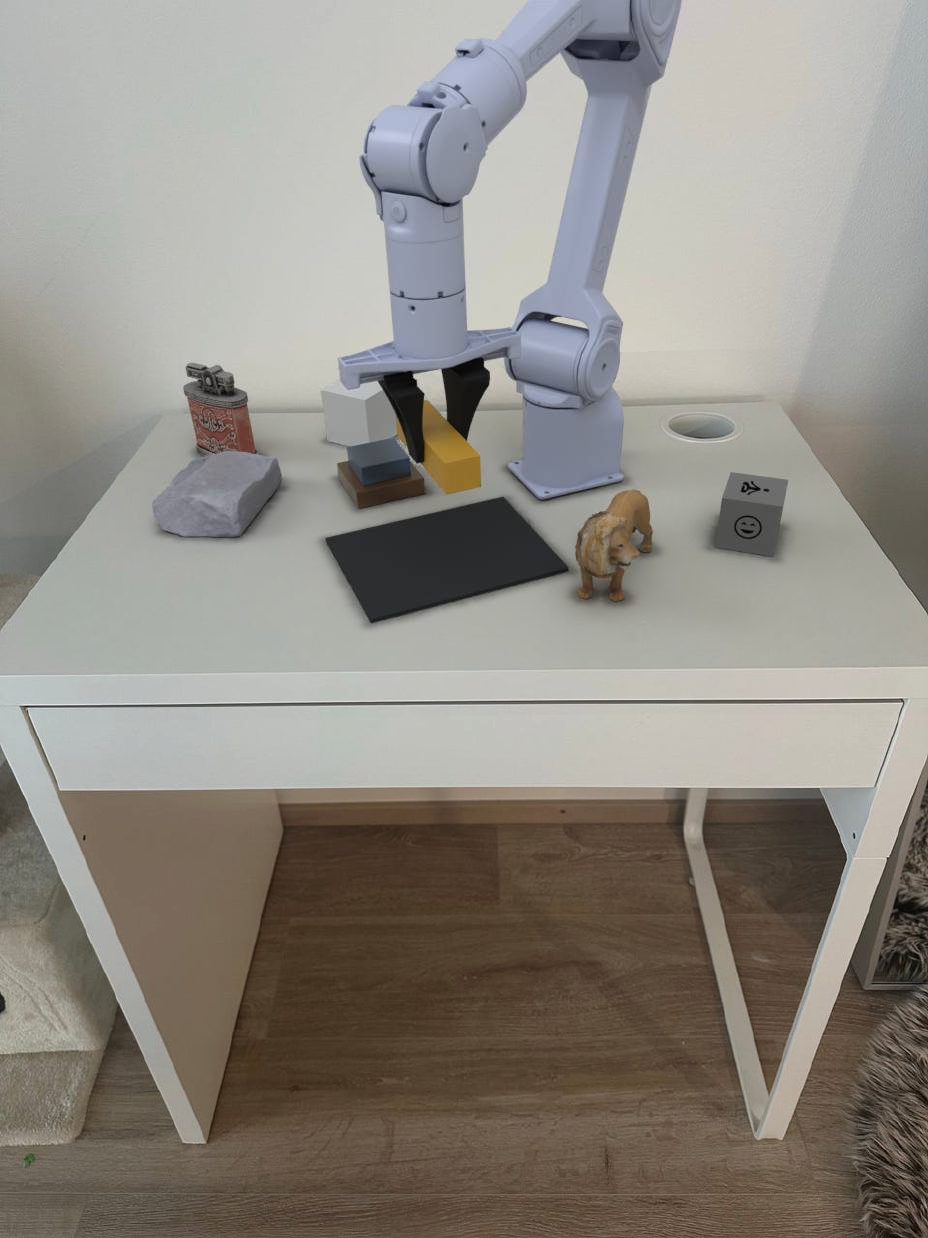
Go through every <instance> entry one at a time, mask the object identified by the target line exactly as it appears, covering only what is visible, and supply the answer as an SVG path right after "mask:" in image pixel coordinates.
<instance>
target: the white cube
mask: <svg viewBox="0 0 928 1238" xmlns="http://www.w3.org/2000/svg"><path fill="white" fill-rule="evenodd" d="M320 396H321V402H322V404H321V405H322V410H323V411H322V412H323V419H324V427H325V433H326V441H327V442H331V443H333V444H337V445H340V446H345V447H350V446H355V445H360V444H365V443H370V442H375V441H379V440H384V439H389V438H395V437H396V436H397V426H396V414H395V411H394V409H393V407H392V405H391V404H390V402H389V400H388V398H387V396H386V394H385V393H384V391H383V389H382V388H381V386H380V384H379V383H378V381H375V382H369V383H364V384H360V387H359V388H356V389H351V390H347V389H346V387H344V385H343V384H342V382H341V381H340V378H339V379H337V380H336V381H334V382H332V383H330V384H328V385H327V386H324V387H323V388H321V389H320Z"/></svg>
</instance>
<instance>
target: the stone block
mask: <svg viewBox="0 0 928 1238" xmlns="http://www.w3.org/2000/svg"><path fill="white" fill-rule="evenodd" d="M281 481H282V471H281V467H280V464H279V460H278V458H277V457H276V456H272V457H271V456H268V455H263V454H259V453H258V454H251V453H247V452H237V451H233V452H232V451H225V452H221V453H218V454H209V455H207V456H205V457H204V456H199V457H198V458H196V459H193V460H190V462H188V465H187V466H186V467H184V468H182V469H181V470H179V472H178V473H177V474H176V475H175V476H174V477H173V478H172V480H171V482H170V483H169V484H168V487H166V488H165V489H163V491H162V492H161V493H160V494H159V495H158V496H156V497H155V498H154V499H153V501H152V502H151V503H152V505H151V506H152V507H151V508H152V513H153V518H154V519H155V520H156V521H157V523H158V526H160V528H161V530H163V531H165V532H169V533H172V534H175V535H179V536H181V537H189V538H190V537H212V538H224V537H225V538H226V537H227V538H236V537H239V536H241V535H242V534H243V533H244V532H245V530H246V529H247V528H248V527H249V525H250V524H251V523H252V522H253V521H254V519H255V518H256V517H257V515H258V514H259V512H260V511H261V510H262V509H263V508H264V507H265V505H266V504H267V502H268V500H269V499H270V498H271V497H272V496H273V495H274V494H275V493H276V491H277V489H278V487H279V486H280V484H281Z"/></svg>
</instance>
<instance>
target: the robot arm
mask: <svg viewBox="0 0 928 1238" xmlns="http://www.w3.org/2000/svg"><path fill="white" fill-rule="evenodd" d="M682 2H683V0H528V1H526V3H525V4H524V5H523V6H522V8H521V9H520V10H519V11H518V12H517V13H516V14H515V16H514V17H513V18H512V20H511V21H510V22H509V23H508V24H507V25H506V27H505V28H504V29H503V30H502V31H501V33H499V35H498V36H497V38H495V39H492V38H487V37H481V38H464V39H462V40H461V41H460V42H459V43H458V44H457V45H456V46H455V48H454V51H455V56H453V58H452V59H451V60H450V61H449V62H448V63H447V64H446V65H445V66H443V68H442V69H441V70H440V71H438V73H436V75H434V77H433V78H432V79H430V81H427V80H426V81H423V83H421V85H419V87H417V89H416V94H415V95H414V96H413V97H412V98H411V99H410V100H409V102H408V103H407V105H399V104H397V105H396V104H394V105H389V106H387V107H385V108H383V109H382V110H381V111H380V112H379V113H378V114H377V115H376V116H375V117H374V118H373V119H372V120H371V123H370V124H369V126H368V128H367V130H366V132H365V136H364V140H363V152H362V154H360V155H359V156H358V160H359V166H360V170H361V174H362V176H363V178H364V180H365V183H366V184H367V186H368V187H369V189H370V190H371V192H372V193H373V196H374V201H375V209H376V215H379V219H380V221H381V222H383V228H384V240H385V241H384V242H385V251H386V253H385V254H386V263H387V275H388V276H387V277H388V287H389V289H388V290H389V300H390V314H391V322H392V323H391V324H392V325H391V326H392V337H393V338H392V339H393V340H392V341H389V342H387V343H383V344H381V345H377V346H374V347H371V348H369V349H366V350H363V351H359V352H355V353H352V354H349V355H343V356H339V357H337V364H338V373H339V379H340V381H341V382H342V384H343V385H344V387H346V389H347V390H351V389H356V388H359V387H360V384H364V383H369V382H375V381H378V383H379V384H380V386H381V388H382V389H383V391H384V393H385V394H386V396H387V398H388V400H389V402H390V404H391V405H392V407H393V409H394V411H395V414H396V416H397V418H398V420H399V423H400V425H401V428H402V431H403V433H404V436H405V440H406V443H407V446H406V448H407V447H408V448H407V451H408V456H409V457H410V458H411V459H412V460H413V461H414V462H415V463H416V464H421V463H422V462H424V454H425V447H424V438H423V427H422V425H423V403H424V400H425V395H426V394H425V392H424V391H423V389H421V388H420V387H419V386H418V379H416V378H415V377H414V375H418V374H422V373H428V372H433V371H439V370H440V371H441V376H442V382H443V387H444V396H445V404H446V420H447V421H448V422H449V423H450V424H451V425H452V426H453V427H454V428H455V429H456V430H457V432H458V433H459V434H460V435H461V436H462V437H463V438H464V439H465V440H466V441H467V442H468V438H469V433H470V429H471V426H472V423H473V419H474V417H475V414H476V411H477V409H478V407H479V404H480V403H481V400H482V398H483V396H484V394H485V393H486V391H487V390H488V388H489V386H490V383H491V371H490V370H489V369H488V368H486V367H485V362H486V361H492V360H497V359H498V360H499V359H503V362H504V363H503V364H504V368H505V372H506V374H507V375H508V377H509V378H510V379H511V380H512V381H515V383H516V384H515V385H516V386H515V388H516V389H515V390H516V393H519V394H521V395H522V459H518V460H514V461H510V462H508V463H507V469H508V470H509V471H510V472H511V473H513V474H514V476H515V477H517V479H518V480H519V481H520V482H521V483H522V484H523V485H524V486H525V487H526V488H527V489H528V490H529V491H530V492H531V493H532V494H533V495H534V496H535V497H536V498H537V499H538V500H548V499H551V498H556V497H561V496H564V495H568V494H572V493H577V492H580V491H584V490H589V489H593V488H598V487H601V486H606V485H611V484H615V483H618V482H623V481H624V479H625V478H624V477H625V475H624V474H623V473H622V472H621V467H622V466H621V465H622V450H623V440H624V439H623V438H624V437H623V436H624V424H625V423H624V417H625V416H624V410H623V409H624V408H623V405H622V404H623V403H622V401H621V398H620V396H619V394H618V392H617V391H616V390H615V388H614V387H613V385H614V383H615V381H616V379H617V376H618V372H619V368H620V365H621V340H622V339H621V338H622V334H623V327H624V321H623V320H622V318H621V317H620V315H619V314H618V312H617V311H616V309H615V308H614V307H613V306H612V304H611V303H610V301H609V300H608V299H607V298H606V296H605V295H604V292H603V291H604V287H605V283H606V279H607V276H608V275H607V274H608V270H609V267H610V263H611V258H612V255H613V250H614V247H615V242H616V236H617V233H618V229H619V226H620V221H621V217H622V211H623V208H624V204H625V200H626V196H627V191H628V187H629V183H630V179H631V175H632V170H633V166H634V162H635V158H636V153H637V149H638V145H639V141H640V136H641V132H642V130H643V125H644V121H645V117H646V112H647V107H648V103H649V99H650V95H651V91H652V86H653V84H654V83H656V82H657V81H659V80H660V79H662V78H663V77H664V75H665V72H666V68H667V63H668V60H669V57H670V53H671V49H672V45H673V41H674V37H675V33H676V29H677V25H678V20H679V16H680V12H681V8H682ZM559 54H560V55H561V57H562V59H563V61H564V62H565V65H566V66H567V68H568V69H569V71H570V73H571V74H573V76H575V77H577V78H579V79H580V80H581V81H583V83H584V86H585V89H586V92H587V99H586V103H585V106H584V112H583V116H582V121H581V125H580V129H579V135H578V138H577V139H578V140H577V144H576V149H575V153H574V157H573V163H572V166H571V171H570V176H569V181H568V183H567V184H568V185H567V190H566V194H565V200H564V203H563V208H562V212H561V216H560V221H559V225H558V229H557V235H556V238H555V239H556V240H555V244H554V249H553V253H552V257H551V262H550V266H549V272H548V275H547V280H546V282H545V283H544V284H543V285H541V286H539V287H538V288H536V289H535V290H534V291H532V292H531V293H528V294H527V295H526V296H525V297H523V298H522V299H521V300H520V303H519V307H518V310H517V315H516V318H515V320H514V322H513V324H512V326H508V327H501V328H491V329H474V330H468V312H467V310H468V309H467V286H466V262H465V261H466V258H465V228H464V227H465V225H464V197H465V196H468V195H470V194H471V192H472V191H473V188H474V186H475V183H476V181H477V178H478V174H479V171H480V165H481V163H482V161H483V160H484V158H485V157H486V155H487V154H486V152H487V150H488V148H489V147H488V146H489V145H490V144H491V143H492V142H493V141H494V140H495V139H496V138H497V137H498V136H499V134H500V133H501V132H502V131H504V129H505V128H506V127H507V126H508V125H509V124H510V123H511V122H512V121H513V120H514V118H516V117H517V115H519V113H520V112H522V110H523V108H524V107H525V104H526V101H527V97H528V89H527V88H528V85H527V82H528V81H529V80H531V79H532V78H533V77H534V76H535V75H537V74H538V73H539V72H540V71H541V70H542V69H543V68H544V67H545V66H547V65H548V64H549V63H550V62H551V61H552V60H554V59H555V58H556V57H557V56H558V55H559ZM556 318H565V319H570V320H575V321H579V322H581V323H583V324H584V325H585V326H586V327H582V326H577V325H573V324H569V323H563V322H560V321H554V319H556Z"/></svg>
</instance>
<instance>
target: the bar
mask: <svg viewBox="0 0 928 1238" xmlns="http://www.w3.org/2000/svg"><path fill="white" fill-rule="evenodd" d="M396 426H397V435H396V436H397V437H398V438H399V440H400V441H401V442H402V443H403V444H404V445H405V447H406V448H407V449H408V447H407V443H406V440H405V436H404V433H403V431H402V428H401V425H400V423H399V420H398V418H397V416H396ZM422 427H423V438H424V447H425V454H424V462H422V463H420V465H421V466H422V467H423V468H424V470H425V471H426V472H427V473H428V475H429V476H430V477H431V478H432V479H433V481H434V482H435V483H436V484H437V486H438V487H439V488H440V489H441V490H442V492H443V493H444V494H445V495H446V496H448V495H452V494H456V493H460V492H461V493H462V492H466V491H469V490H475V489H478V488H482V467H481V465H482V464H481V454H479V452H478V451H477V450H476V449H475V448H474V447H473V446H472V445H471V444H470V443H469V442H468V440H467V441H466V440H465V439H464V438H463V437H462V436H461V435H460V434H459V433H458V432H457V430H456V429H455V428H454V427H453V426H452V425H451V424H450V423H449V422H448V421H447V418H445V416H443V414H442V413H441V412H440V411H439V410H438V409H437V408H436V407H435V406H434V405H433V404H432V402H430V401H429V400H428V399H424V403H423V425H422Z"/></svg>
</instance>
